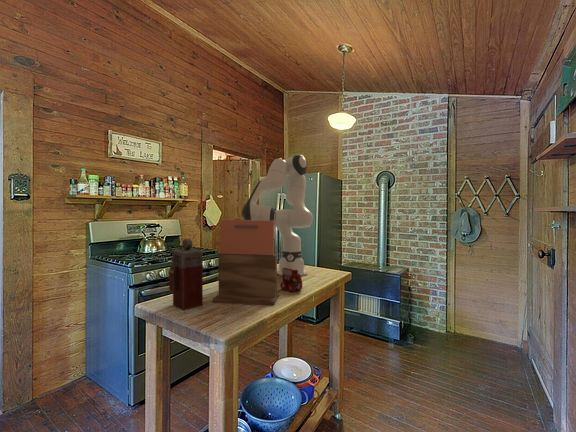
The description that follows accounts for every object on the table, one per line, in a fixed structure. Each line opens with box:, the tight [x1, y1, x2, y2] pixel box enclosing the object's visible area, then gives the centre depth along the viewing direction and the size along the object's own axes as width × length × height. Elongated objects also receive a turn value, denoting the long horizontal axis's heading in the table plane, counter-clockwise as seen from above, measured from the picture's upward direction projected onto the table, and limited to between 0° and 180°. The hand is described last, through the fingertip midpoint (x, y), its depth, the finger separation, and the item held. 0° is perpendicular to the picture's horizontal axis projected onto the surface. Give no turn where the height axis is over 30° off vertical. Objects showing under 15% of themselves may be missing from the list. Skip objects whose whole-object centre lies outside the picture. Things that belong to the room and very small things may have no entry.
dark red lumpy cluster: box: [279, 268, 303, 293], centre depth 152 cm, size 7×12×10 cm, turn 47°
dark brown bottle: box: [168, 238, 204, 311], centre depth 127 cm, size 9×11×28 cm
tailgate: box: [219, 219, 275, 255], centre depth 136 cm, size 2×24×15 cm, turn 82°
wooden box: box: [212, 252, 280, 306], centre depth 137 cm, size 14×27×20 cm, turn 82°
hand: (252, 234), depth 147 cm, fingers closed
